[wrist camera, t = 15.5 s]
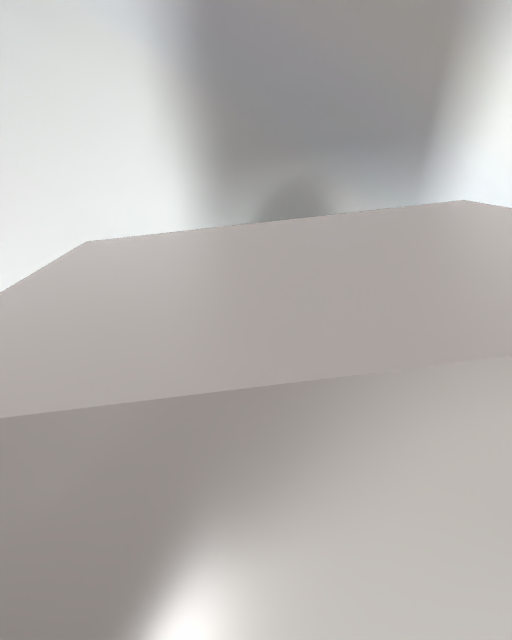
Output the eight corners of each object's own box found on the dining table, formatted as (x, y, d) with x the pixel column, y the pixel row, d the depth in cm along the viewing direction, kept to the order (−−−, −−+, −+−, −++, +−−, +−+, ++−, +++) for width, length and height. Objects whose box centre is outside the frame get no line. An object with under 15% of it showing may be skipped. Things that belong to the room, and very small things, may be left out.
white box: (155, 534, 15) (72, 987, 7) (85, 241, 11) (-264, 451, 3) (443, 496, 15) (697, 886, 7) (463, 200, 12) (1019, 294, 4)
